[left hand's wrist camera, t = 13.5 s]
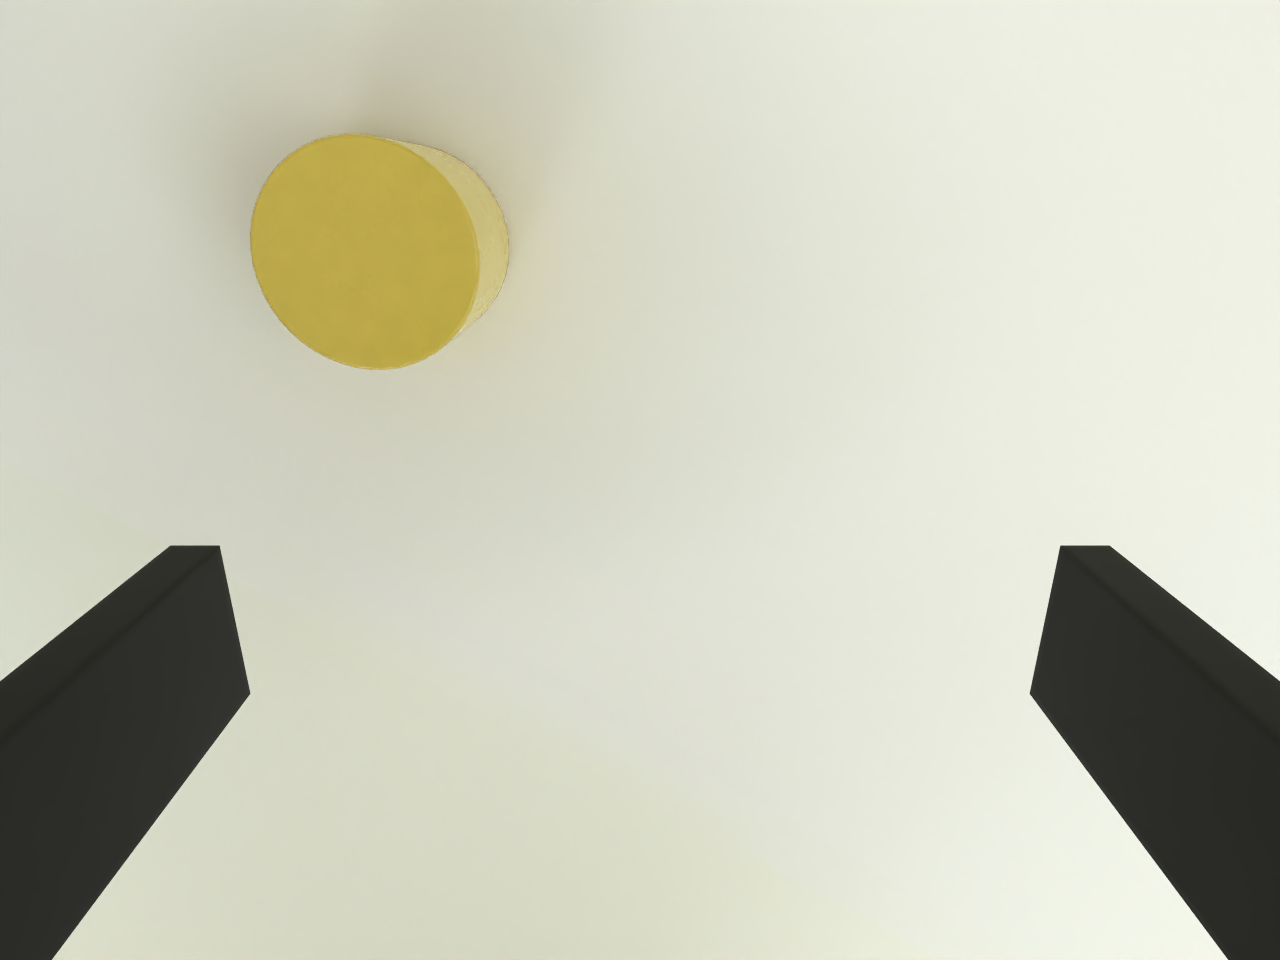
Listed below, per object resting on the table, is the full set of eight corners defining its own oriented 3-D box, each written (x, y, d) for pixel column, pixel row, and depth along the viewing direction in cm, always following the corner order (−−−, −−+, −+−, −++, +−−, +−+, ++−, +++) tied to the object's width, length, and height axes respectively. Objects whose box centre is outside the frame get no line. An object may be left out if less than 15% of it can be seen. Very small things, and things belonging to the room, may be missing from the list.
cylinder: (518, 332, 21) (491, 364, 17) (341, 341, 22) (275, 376, 18) (498, 138, 20) (463, 126, 16) (307, 149, 20) (225, 140, 16)
